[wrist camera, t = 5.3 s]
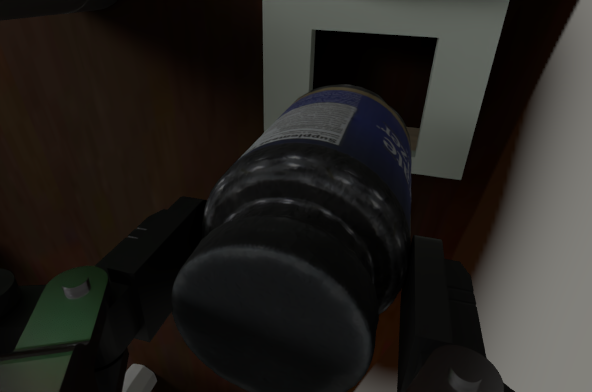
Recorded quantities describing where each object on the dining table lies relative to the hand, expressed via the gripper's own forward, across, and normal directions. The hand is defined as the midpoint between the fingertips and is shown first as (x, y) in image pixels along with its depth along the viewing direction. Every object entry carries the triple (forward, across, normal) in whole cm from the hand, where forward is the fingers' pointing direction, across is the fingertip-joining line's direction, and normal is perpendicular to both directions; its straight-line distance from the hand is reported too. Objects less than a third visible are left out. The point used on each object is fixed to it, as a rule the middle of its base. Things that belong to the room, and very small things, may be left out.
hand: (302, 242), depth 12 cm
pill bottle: (+8, 0, 0) cm, 8 cm away
